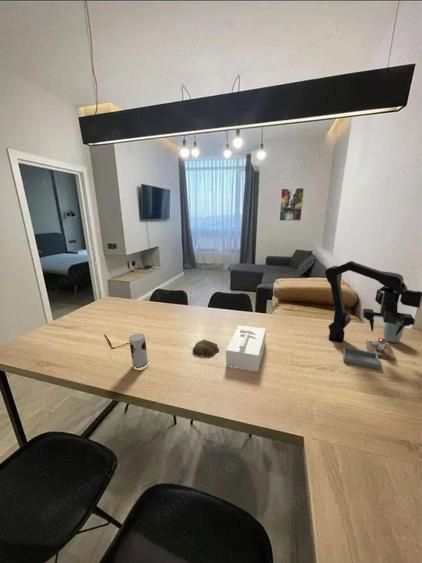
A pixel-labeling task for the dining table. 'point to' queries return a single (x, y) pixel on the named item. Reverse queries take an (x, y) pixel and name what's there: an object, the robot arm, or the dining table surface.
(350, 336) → the dining table surface
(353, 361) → the tray
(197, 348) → the dark brown rock
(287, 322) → the dining table surface
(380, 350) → the lock pin
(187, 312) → the dining table surface
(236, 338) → the white rectangular block
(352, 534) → the dining table surface
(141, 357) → the grey cylinder
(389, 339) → the cup
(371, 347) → the block
